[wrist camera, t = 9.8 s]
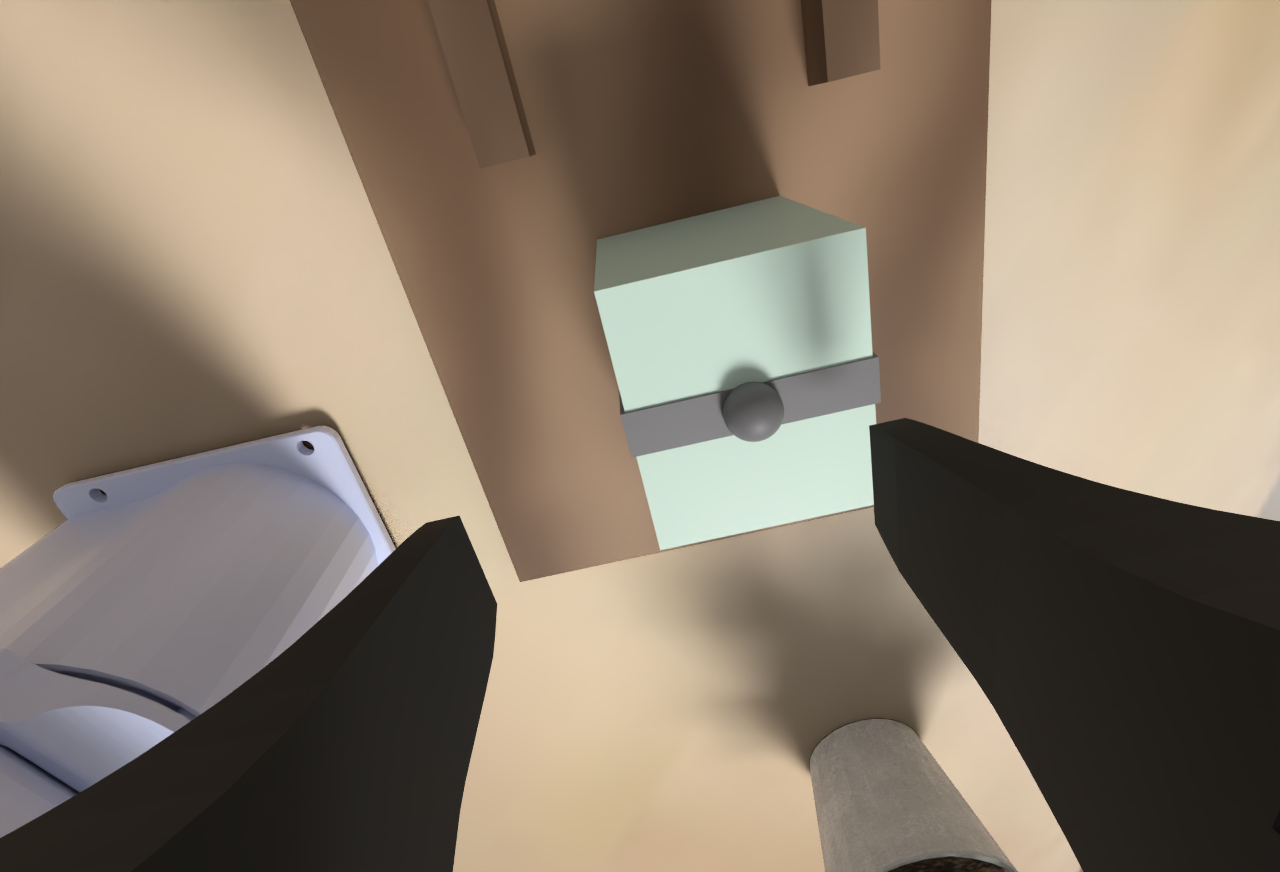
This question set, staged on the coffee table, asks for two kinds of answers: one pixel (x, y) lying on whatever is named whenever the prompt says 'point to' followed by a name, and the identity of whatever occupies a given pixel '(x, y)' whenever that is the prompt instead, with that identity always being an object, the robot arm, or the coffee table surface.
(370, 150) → the shelf
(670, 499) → the sage block
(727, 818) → the coffee table surface
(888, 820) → the house plant
